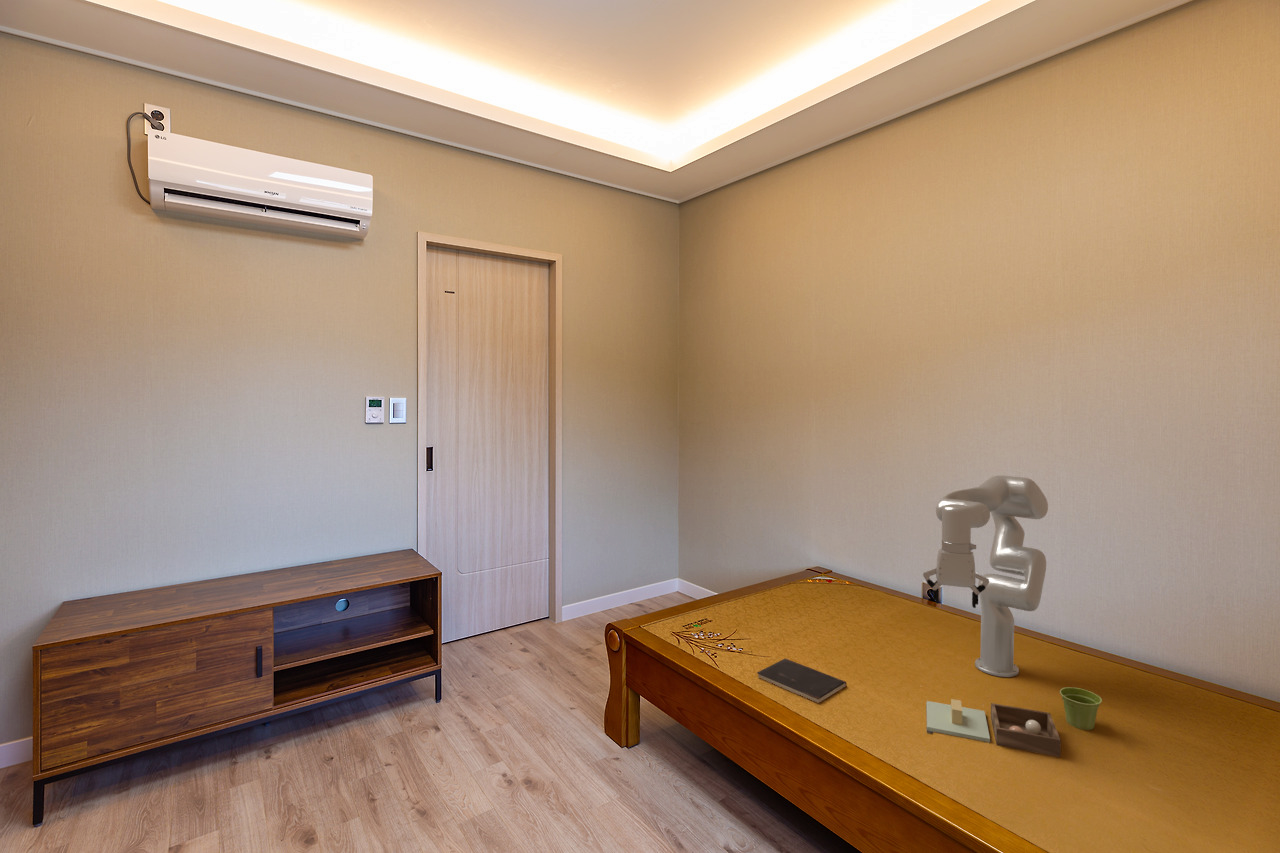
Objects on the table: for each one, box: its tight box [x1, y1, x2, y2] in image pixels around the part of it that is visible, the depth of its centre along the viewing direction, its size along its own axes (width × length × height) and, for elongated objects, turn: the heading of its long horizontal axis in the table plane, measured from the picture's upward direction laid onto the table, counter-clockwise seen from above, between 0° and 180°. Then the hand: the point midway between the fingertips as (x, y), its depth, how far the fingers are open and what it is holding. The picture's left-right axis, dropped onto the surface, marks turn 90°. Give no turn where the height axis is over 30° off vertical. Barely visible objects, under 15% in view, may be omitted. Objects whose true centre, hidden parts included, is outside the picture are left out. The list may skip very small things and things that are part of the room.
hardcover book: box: [756, 658, 847, 704], centre depth 198 cm, size 16×23×2 cm
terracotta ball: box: [1009, 726, 1024, 732], centre depth 162 cm, size 4×4×4 cm
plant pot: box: [1059, 686, 1103, 731], centre depth 169 cm, size 9×9×9 cm
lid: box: [926, 698, 991, 743], centre depth 171 cm, size 15×15×5 cm
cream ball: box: [1025, 720, 1041, 734], centre depth 165 cm, size 4×4×4 cm
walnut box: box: [990, 702, 1062, 758], centre depth 164 cm, size 14×14×5 cm
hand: (955, 604), depth 180 cm, fingers open, 9 cm apart
